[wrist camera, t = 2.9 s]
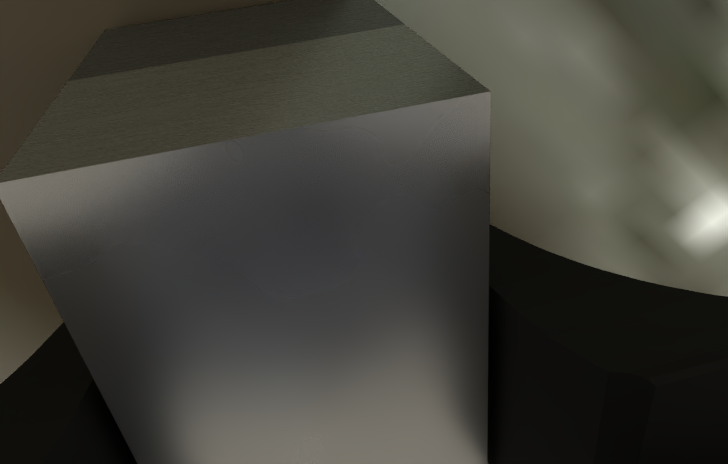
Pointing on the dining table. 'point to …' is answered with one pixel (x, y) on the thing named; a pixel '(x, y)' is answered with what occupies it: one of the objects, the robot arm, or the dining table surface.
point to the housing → (270, 236)
